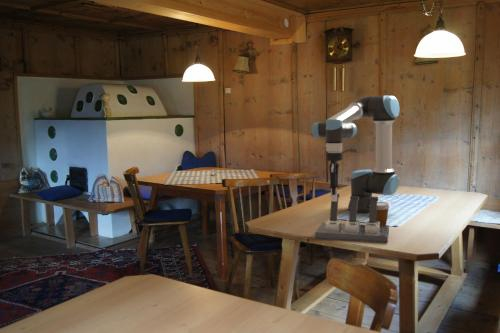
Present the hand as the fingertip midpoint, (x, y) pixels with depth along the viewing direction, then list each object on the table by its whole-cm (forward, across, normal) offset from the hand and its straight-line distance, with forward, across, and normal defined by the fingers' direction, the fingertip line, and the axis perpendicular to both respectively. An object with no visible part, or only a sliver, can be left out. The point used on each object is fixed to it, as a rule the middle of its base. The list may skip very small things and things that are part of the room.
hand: (334, 201), depth 227 cm
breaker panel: (+15, +2, +9) cm, 18 cm away
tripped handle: (+8, +3, 0) cm, 9 cm away
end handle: (+8, +3, +18) cm, 20 cm away
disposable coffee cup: (+15, -14, +20) cm, 29 cm away
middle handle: (+8, +3, +9) cm, 12 cm away
